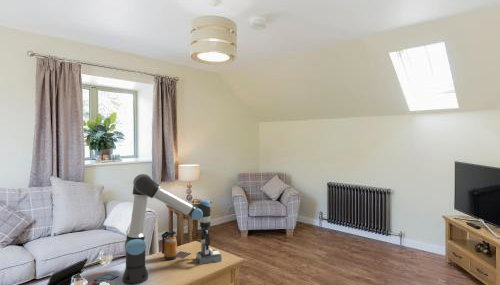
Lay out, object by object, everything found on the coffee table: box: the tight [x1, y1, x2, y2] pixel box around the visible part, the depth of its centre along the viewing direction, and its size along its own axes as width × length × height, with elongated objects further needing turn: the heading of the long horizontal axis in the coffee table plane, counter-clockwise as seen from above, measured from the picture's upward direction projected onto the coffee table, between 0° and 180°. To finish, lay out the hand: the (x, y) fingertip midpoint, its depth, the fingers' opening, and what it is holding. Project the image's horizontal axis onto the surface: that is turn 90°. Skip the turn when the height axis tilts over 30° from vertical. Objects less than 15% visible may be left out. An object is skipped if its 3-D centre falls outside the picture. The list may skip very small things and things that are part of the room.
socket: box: [195, 249, 222, 265], centre depth 227 cm, size 16×12×5 cm
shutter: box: [209, 247, 221, 256], centre depth 228 cm, size 7×7×3 cm
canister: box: [161, 230, 178, 261], centre depth 229 cm, size 9×11×20 cm
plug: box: [200, 239, 209, 257], centre depth 226 cm, size 4×4×14 cm
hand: (204, 251), depth 226 cm, fingers open, 11 cm apart
